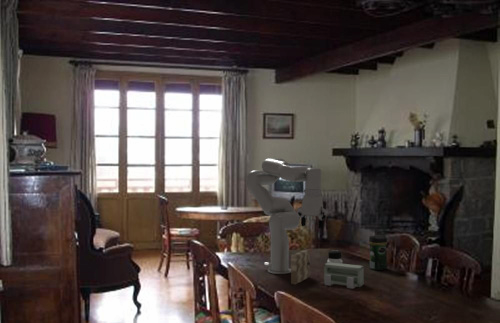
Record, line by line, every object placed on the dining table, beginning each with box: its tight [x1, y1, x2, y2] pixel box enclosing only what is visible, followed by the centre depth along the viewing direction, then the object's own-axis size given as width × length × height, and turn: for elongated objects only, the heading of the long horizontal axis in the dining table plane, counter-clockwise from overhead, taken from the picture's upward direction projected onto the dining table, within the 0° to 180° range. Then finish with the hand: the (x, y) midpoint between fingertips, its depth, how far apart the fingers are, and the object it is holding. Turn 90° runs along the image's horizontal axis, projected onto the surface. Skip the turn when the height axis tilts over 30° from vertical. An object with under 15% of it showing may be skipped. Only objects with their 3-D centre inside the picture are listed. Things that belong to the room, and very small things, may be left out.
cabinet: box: [323, 262, 365, 290], centre depth 256 cm, size 18×11×9 cm, turn 62°
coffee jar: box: [368, 234, 388, 271], centre depth 292 cm, size 10×8×19 cm
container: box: [326, 250, 343, 264], centre depth 274 cm, size 8×8×13 cm
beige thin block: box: [290, 249, 311, 285], centre depth 264 cm, size 18×3×14 cm, turn 152°
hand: (312, 226), depth 264 cm, fingers open, 9 cm apart
